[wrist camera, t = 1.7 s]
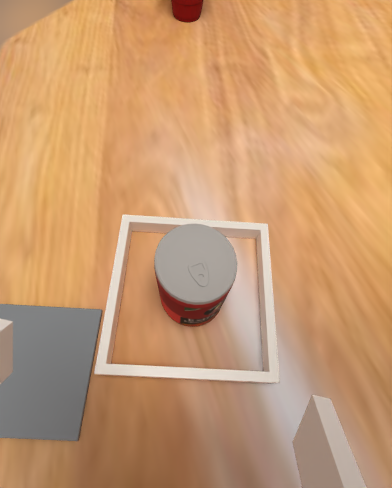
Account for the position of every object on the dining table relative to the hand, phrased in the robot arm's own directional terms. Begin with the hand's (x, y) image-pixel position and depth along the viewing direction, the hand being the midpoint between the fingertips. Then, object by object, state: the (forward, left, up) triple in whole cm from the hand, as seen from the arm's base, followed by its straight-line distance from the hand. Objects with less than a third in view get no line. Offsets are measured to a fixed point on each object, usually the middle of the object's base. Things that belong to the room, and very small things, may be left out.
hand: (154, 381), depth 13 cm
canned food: (-2, -11, -22) cm, 24 cm away
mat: (+15, -2, -22) cm, 26 cm away
